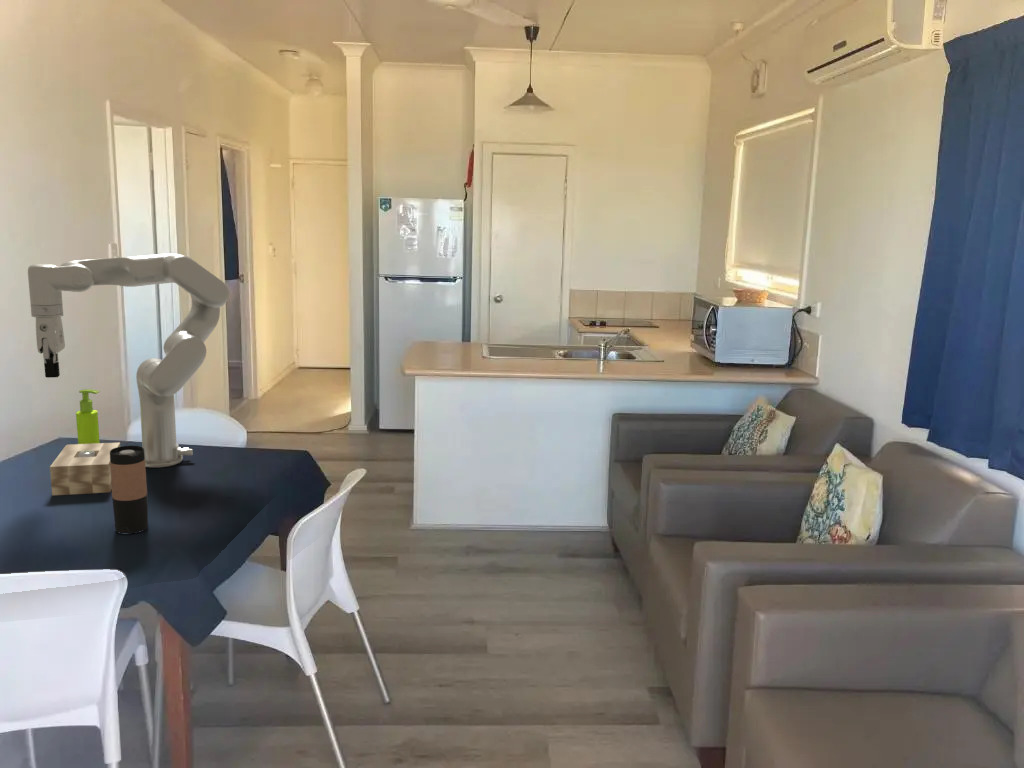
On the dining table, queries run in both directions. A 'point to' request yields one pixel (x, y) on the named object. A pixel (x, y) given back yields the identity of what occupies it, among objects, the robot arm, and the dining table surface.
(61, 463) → the socket block
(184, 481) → the dining table surface
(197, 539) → the dining table surface
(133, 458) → the travel mug
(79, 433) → the green soap pump bottle
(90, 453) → the peg
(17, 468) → the dining table surface
